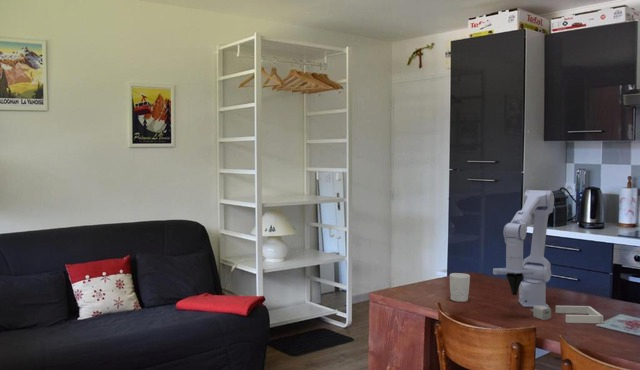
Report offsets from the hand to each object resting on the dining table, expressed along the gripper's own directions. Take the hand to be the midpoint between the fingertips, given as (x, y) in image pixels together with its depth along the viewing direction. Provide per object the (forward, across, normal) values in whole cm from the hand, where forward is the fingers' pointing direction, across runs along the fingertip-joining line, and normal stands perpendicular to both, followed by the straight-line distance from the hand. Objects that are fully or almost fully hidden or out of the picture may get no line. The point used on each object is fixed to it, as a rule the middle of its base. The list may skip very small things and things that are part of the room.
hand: (514, 294), depth 205 cm
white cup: (+8, -17, +22) cm, 29 cm away
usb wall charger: (+8, +9, 0) cm, 12 cm away
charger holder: (+8, +22, 0) cm, 23 cm away
